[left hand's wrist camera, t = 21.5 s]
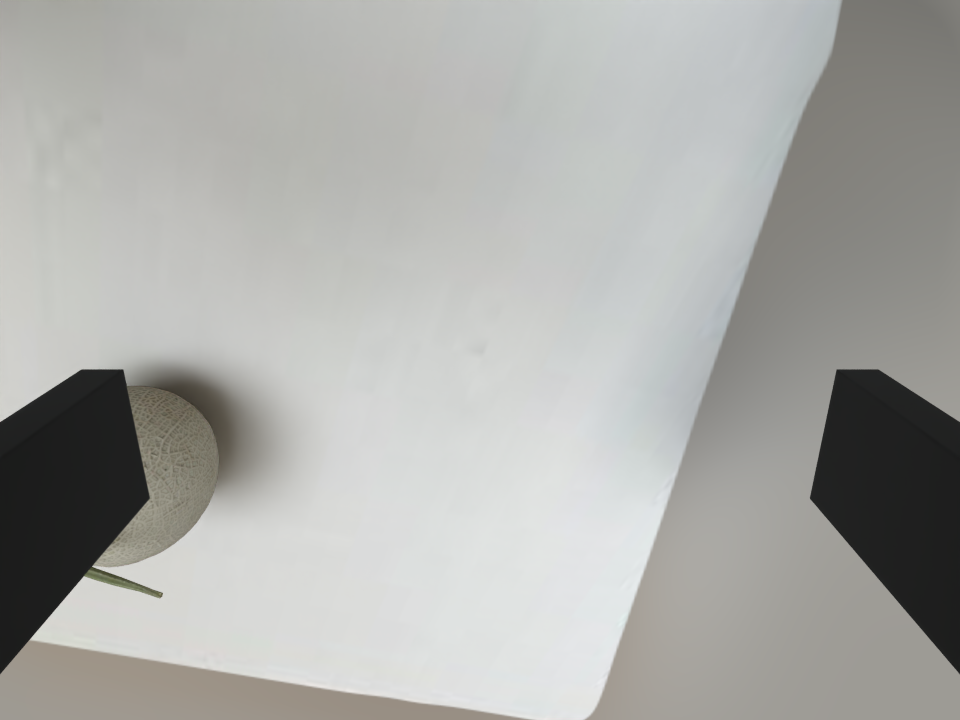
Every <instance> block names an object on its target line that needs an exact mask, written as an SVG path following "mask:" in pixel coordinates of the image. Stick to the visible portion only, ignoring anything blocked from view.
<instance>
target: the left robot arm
mask: <svg viewBox="0 0 960 720" xmlns="http://www.w3.org/2000/svg"><path fill="white" fill-rule="evenodd" d="M149 499H150V496H149V491H148V486H147V481H146V476H145V472H144V467H143V462H142V457H141V452H140V448H139V443H138V438H137V433H136V428H135V423H134V419H133V414H132V409H131V404H130V399H129V395H128V390H127V385H126V380H125V375H124V371H123V370H80V371H79V372H77V373H76V374H74V375H72V376H71V377H69V378H68V379H66V380H65V381H63V382H62V383H60V384H59V385H57V386H55V387H54V388H52V389H51V390H49V391H48V392H46V393H45V394H43V395H42V396H40V397H38V398H37V399H35V400H34V401H32V402H31V403H29V404H28V405H26V406H25V407H23V408H21V409H20V410H18V411H17V412H15V413H14V414H12V415H11V416H9V417H8V418H6V419H4V420H3V421H1V422H0V674H1V673H2V671H3V670H4V669H5V668H6V667H7V665H8V664H9V663H10V662H11V661H12V660H13V658H14V657H15V656H16V655H17V654H18V652H19V651H20V650H21V649H22V648H23V647H24V646H25V644H26V643H27V642H28V641H29V640H30V639H31V637H32V636H33V635H34V634H35V633H36V632H37V630H38V629H39V628H40V627H41V626H42V624H43V623H44V622H45V621H46V620H47V619H48V617H49V616H50V615H51V614H52V613H53V612H54V610H55V609H56V608H57V607H58V606H59V605H60V603H61V602H62V601H63V600H64V599H65V598H66V596H67V595H68V594H69V593H70V592H71V590H72V589H73V588H74V587H75V586H76V585H77V583H78V582H79V581H80V580H81V579H82V578H83V576H84V575H85V574H86V573H87V572H88V571H89V569H90V568H91V567H92V566H93V565H94V564H95V562H96V561H97V560H98V559H99V558H100V557H101V555H102V554H103V553H104V552H105V551H106V549H107V548H108V547H109V546H110V545H111V544H112V542H113V541H114V540H115V539H116V538H117V537H118V535H119V534H120V533H121V532H122V531H123V530H124V528H125V527H126V526H127V525H128V524H129V523H130V521H131V520H132V519H133V518H134V517H135V516H136V514H137V513H138V512H139V511H140V510H141V508H142V507H143V506H144V505H145V504H146V503H147V501H148V500H149ZM810 499H811V500H812V501H813V503H814V504H815V505H816V506H817V507H818V508H819V510H820V511H821V512H822V513H823V514H824V516H825V517H826V518H827V519H828V520H829V521H830V523H831V524H832V525H833V526H834V527H835V528H836V530H837V531H838V532H839V533H840V534H841V535H842V536H843V538H844V539H845V540H846V541H847V542H848V544H849V545H850V546H851V547H852V548H853V549H854V551H855V552H856V553H857V554H858V555H859V557H860V558H861V559H862V560H863V561H864V562H865V564H866V565H867V566H868V567H869V568H870V569H871V570H872V572H873V573H874V574H875V575H876V576H877V578H878V579H879V580H880V581H881V582H882V583H883V585H884V586H885V587H886V588H887V589H888V590H889V592H890V593H891V594H892V595H893V596H894V598H895V599H896V600H897V601H898V602H899V603H900V605H901V606H902V607H903V608H904V609H905V610H906V612H907V613H908V614H909V615H910V616H911V617H912V619H913V620H914V621H915V622H916V623H917V624H918V626H919V627H920V628H921V629H922V630H923V631H924V633H925V634H926V635H927V636H928V637H929V639H930V640H931V641H932V642H933V643H934V644H935V646H936V647H937V648H938V649H939V650H940V651H941V653H942V654H943V655H944V656H945V657H946V658H947V660H948V661H949V662H950V663H951V664H952V665H953V667H954V668H955V669H956V670H957V671H958V672H959V674H960V422H959V421H957V420H956V419H954V418H952V417H951V416H949V415H948V414H946V413H945V412H943V411H942V410H940V409H939V408H937V407H935V406H934V405H932V404H931V403H929V402H928V401H926V400H925V399H923V398H922V397H920V396H918V395H917V394H915V393H914V392H912V391H911V390H909V389H908V388H906V387H904V386H903V385H901V384H900V383H898V382H897V381H895V380H894V379H892V378H891V377H889V376H888V375H886V374H884V373H883V372H881V371H880V370H837V371H836V375H835V380H834V385H833V390H832V395H831V400H830V404H829V409H828V414H827V419H826V424H825V428H824V433H823V438H822V443H821V448H820V452H819V457H818V462H817V467H816V472H815V476H814V481H813V486H812V491H811V496H810Z"/></svg>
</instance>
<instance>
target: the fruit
mask: <svg viewBox="0 0 960 720" xmlns="http://www.w3.org/2000/svg"><path fill="white" fill-rule="evenodd" d="M127 390H128V395H129V399H130V404H131V409H132V414H133V419H134V423H135V428H136V433H137V438H138V443H139V448H140V452H141V457H142V462H143V467H144V472H145V476H146V481H147V486H148V491H149V496H150V499H149V500H148V501H147V503H146V504H145V505H144V506H143V507H142V508H141V510H140V511H139V512H138V513H137V514H136V516H135V517H134V518H133V519H132V520H131V521H130V523H129V524H128V525H127V526H126V527H125V528H124V530H123V531H122V532H121V533H120V534H119V535H118V537H117V538H116V539H115V540H114V541H113V542H112V544H111V545H110V546H109V547H108V548H107V549H106V551H105V552H104V553H103V554H102V555H101V557H100V558H99V559H98V560H97V561H96V562H95V564H94V566H101V567H116V566H124V565H129V564H133V563H136V562H139V561H142V560H144V559H146V558H149V557H151V556H154V555H156V554H158V553H160V552H162V551H164V550H166V549H167V548H169V547H170V546H172V545H173V544H175V543H176V542H177V541H178V540H180V539H181V538H182V537H183V536H184V535H185V534H186V533H187V532H188V531H190V530H191V528H192V527H193V526H194V525H195V524H196V523H197V521H198V520H199V518H200V517H201V515H202V514H203V512H204V511H205V510H206V508H207V506H208V504H209V502H210V500H211V497H212V495H213V493H214V489H215V485H216V482H217V477H218V469H219V453H218V447H217V442H216V439H215V436H214V433H213V431H212V428H211V426H210V425H209V423H208V422H207V420H206V419H205V418H204V416H203V415H202V414H201V413H200V412H199V411H198V410H197V409H196V408H195V407H194V406H193V405H192V404H190V403H189V402H187V401H186V400H184V399H183V398H181V397H180V396H178V395H176V394H174V393H171V392H168V391H165V390H162V389H158V388H152V387H146V386H127ZM84 576H85V577H88V578H91V579H94V580H97V581H101V582H104V583H108V584H111V585H115V586H119V587H123V588H127V589H131V590H135V591H140V592H143V593H146V594H148V595H151V596H154V597H157V598H161V597H162V595H163V593H161V592H158V591H155V590H152V589H150V588H148V587H145V586H142V585H140V584H137V583H135V582H132V581H129V580H127V579H124V578H122V577H119V576H116V575H113V574H110V573H107V572H105V571H102V570H99V569H96V568H94V567H91V568H90V569H89V571H88V572H87V573H86V574H85V575H84Z"/></svg>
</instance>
